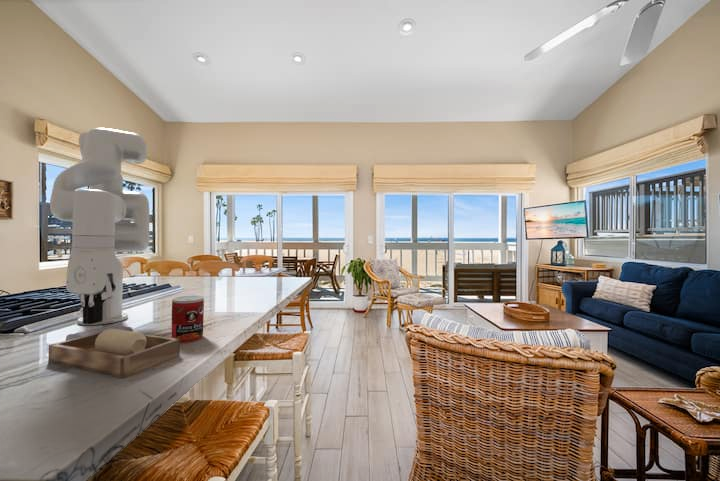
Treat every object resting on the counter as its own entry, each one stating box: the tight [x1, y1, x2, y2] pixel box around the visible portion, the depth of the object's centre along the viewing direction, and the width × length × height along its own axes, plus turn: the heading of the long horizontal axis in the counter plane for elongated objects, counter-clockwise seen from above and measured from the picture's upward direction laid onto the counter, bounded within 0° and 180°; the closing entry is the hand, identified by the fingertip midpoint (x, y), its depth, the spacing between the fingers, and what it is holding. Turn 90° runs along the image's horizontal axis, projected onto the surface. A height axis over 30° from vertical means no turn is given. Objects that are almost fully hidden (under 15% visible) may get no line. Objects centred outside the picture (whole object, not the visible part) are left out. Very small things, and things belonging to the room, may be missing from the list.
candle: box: [95, 329, 147, 356], centre depth 71 cm, size 6×6×10 cm
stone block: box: [64, 324, 134, 341], centre depth 83 cm, size 12×5×10 cm
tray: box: [48, 331, 181, 379], centre depth 71 cm, size 22×13×4 cm, turn 73°
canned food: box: [170, 295, 205, 344], centre depth 87 cm, size 8×8×11 cm
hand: (92, 322), depth 74 cm, fingers closed
